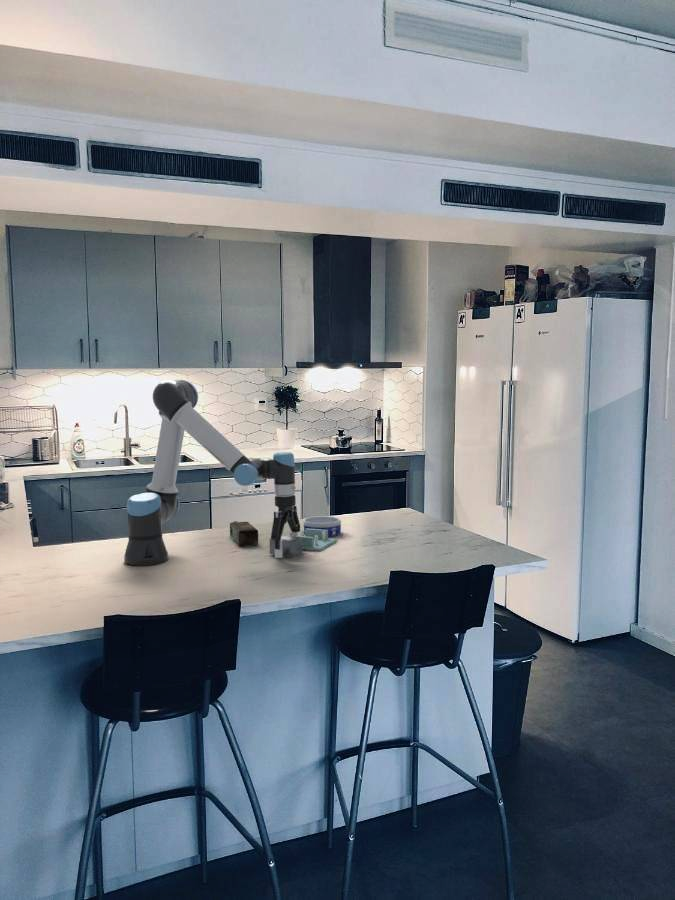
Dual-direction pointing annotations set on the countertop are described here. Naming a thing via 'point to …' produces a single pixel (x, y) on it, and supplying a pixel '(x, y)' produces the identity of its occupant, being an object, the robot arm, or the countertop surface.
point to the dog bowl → (324, 524)
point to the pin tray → (316, 539)
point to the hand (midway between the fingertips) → (286, 553)
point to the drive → (288, 546)
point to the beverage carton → (243, 533)
